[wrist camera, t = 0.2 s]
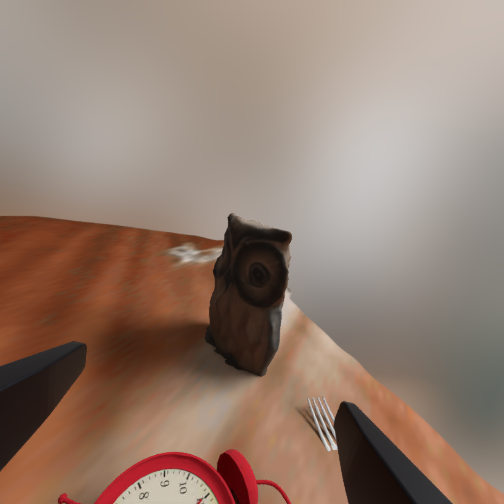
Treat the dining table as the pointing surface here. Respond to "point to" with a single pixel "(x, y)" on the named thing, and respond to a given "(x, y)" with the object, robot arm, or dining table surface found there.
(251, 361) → the owl
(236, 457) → the alarm clock
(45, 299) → the dining table surface
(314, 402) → the fork
